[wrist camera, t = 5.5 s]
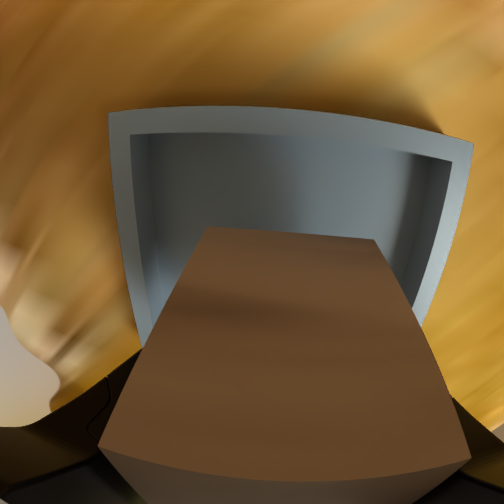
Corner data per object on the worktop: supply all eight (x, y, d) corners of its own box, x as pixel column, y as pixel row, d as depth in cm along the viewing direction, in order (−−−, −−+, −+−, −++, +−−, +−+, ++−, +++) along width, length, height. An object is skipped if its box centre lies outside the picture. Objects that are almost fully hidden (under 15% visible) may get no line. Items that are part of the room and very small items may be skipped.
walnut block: (342, 357, 11) (361, 532, 5) (212, 348, 11) (167, 522, 5) (373, 239, 9) (471, 458, 3) (207, 226, 9) (97, 446, 3)
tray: (380, 361, 15) (388, 392, 13) (162, 345, 16) (149, 374, 14) (444, 134, 10) (474, 143, 8) (136, 108, 10) (108, 112, 8)
